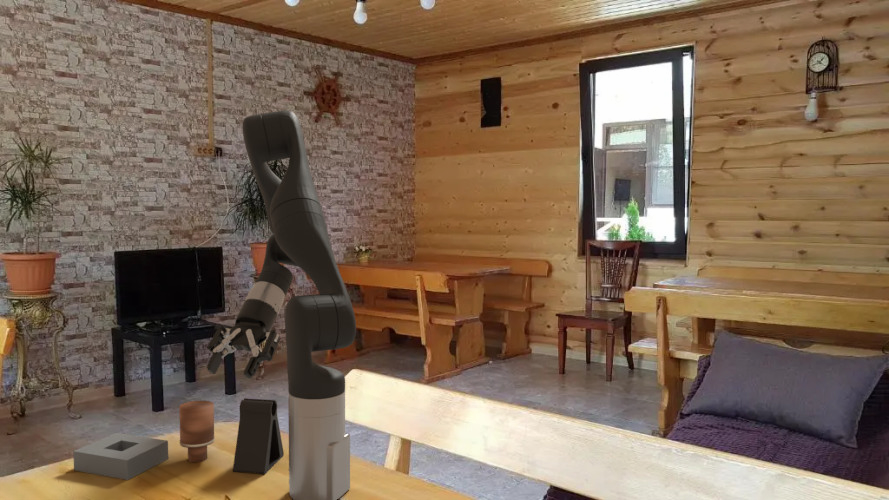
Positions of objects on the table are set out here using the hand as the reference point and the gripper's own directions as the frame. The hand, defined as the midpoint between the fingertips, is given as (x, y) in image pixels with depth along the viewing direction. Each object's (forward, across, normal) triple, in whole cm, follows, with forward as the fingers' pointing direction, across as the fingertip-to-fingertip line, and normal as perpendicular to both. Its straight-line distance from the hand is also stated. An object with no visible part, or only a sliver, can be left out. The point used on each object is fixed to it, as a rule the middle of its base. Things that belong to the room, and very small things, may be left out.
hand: (228, 374), depth 137 cm
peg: (+16, 0, +3) cm, 17 cm away
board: (+22, -11, -2) cm, 24 cm away
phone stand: (+15, +12, +4) cm, 20 cm away
